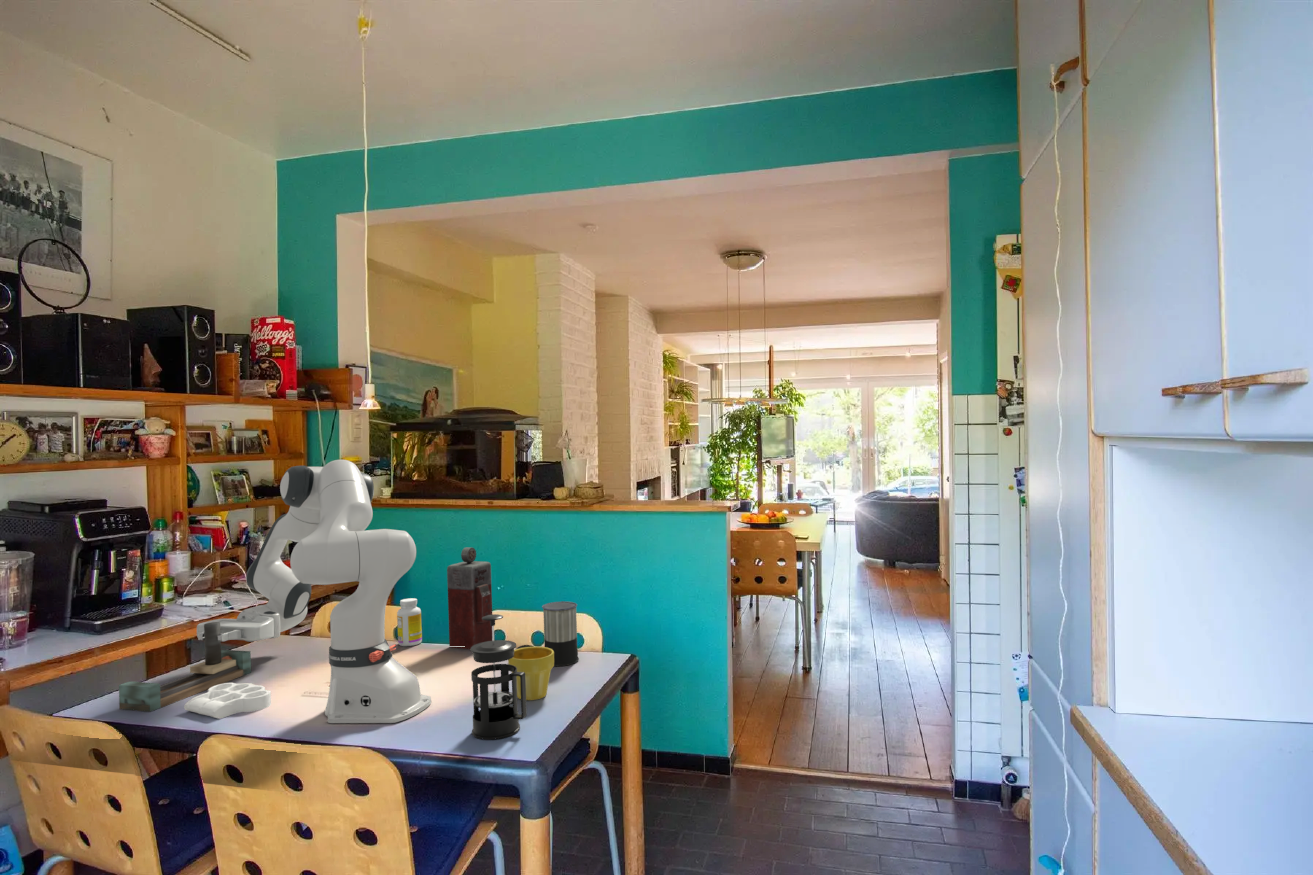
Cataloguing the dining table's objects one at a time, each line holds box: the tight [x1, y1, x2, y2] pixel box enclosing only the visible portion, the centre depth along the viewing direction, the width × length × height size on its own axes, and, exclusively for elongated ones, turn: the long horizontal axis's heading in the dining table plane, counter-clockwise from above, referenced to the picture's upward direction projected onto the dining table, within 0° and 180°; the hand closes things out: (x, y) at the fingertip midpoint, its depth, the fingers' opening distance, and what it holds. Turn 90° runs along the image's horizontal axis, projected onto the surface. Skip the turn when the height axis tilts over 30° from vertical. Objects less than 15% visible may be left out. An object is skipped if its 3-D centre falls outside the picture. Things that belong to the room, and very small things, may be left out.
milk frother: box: [514, 600, 580, 667], centre depth 190 cm, size 14×16×15 cm
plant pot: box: [507, 646, 555, 701], centre depth 164 cm, size 10×10×10 cm
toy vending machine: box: [446, 546, 493, 651], centre depth 208 cm, size 9×11×28 cm
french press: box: [470, 613, 528, 741], centre depth 145 cm, size 12×9×23 cm
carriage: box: [189, 622, 236, 674], centre depth 183 cm, size 7×7×12 cm
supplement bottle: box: [396, 597, 423, 647], centre depth 212 cm, size 7×7×13 cm
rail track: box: [118, 649, 252, 713], centre depth 177 cm, size 9×28×6 cm, turn 165°
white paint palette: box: [183, 682, 272, 720], centre depth 164 cm, size 3×18×15 cm
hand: (209, 637), depth 182 cm, fingers open, 5 cm apart
